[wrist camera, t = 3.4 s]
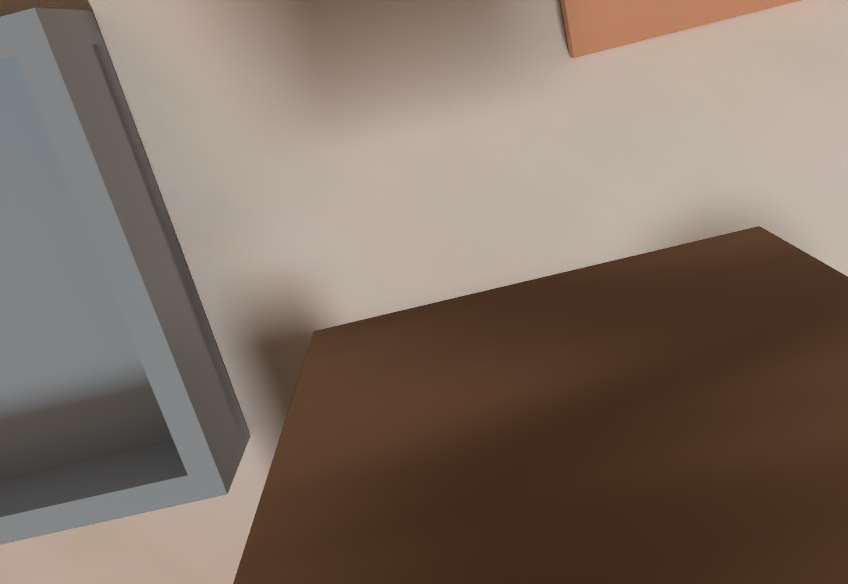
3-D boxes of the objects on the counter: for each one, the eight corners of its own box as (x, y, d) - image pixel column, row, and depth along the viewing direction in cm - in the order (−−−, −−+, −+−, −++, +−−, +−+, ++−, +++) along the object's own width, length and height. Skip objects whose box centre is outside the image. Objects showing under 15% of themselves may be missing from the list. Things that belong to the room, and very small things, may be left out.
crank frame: (831, -106, 13) (847, -111, 13) (864, 541, 18) (876, 554, 17) (554, -33, 13) (559, -36, 13) (659, 582, 18) (665, 598, 18)
